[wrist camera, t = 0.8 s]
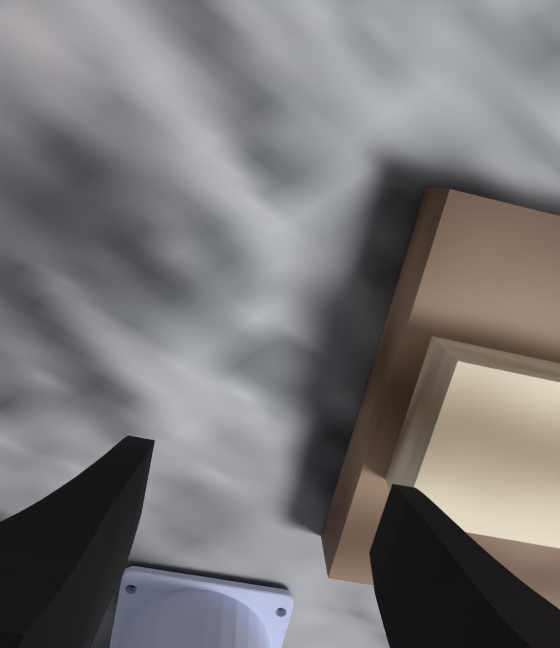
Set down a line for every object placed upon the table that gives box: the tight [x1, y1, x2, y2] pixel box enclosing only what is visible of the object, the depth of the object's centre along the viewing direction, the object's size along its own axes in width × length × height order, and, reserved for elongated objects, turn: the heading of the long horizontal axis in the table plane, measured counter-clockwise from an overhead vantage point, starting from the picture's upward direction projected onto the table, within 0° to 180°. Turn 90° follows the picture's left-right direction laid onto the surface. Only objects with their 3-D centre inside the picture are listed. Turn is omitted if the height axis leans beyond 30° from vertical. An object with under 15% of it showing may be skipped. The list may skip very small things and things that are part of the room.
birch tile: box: [385, 336, 560, 548], centre depth 19 cm, size 6×9×2 cm, turn 77°
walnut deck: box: [321, 186, 560, 609], centre depth 21 cm, size 16×13×2 cm
